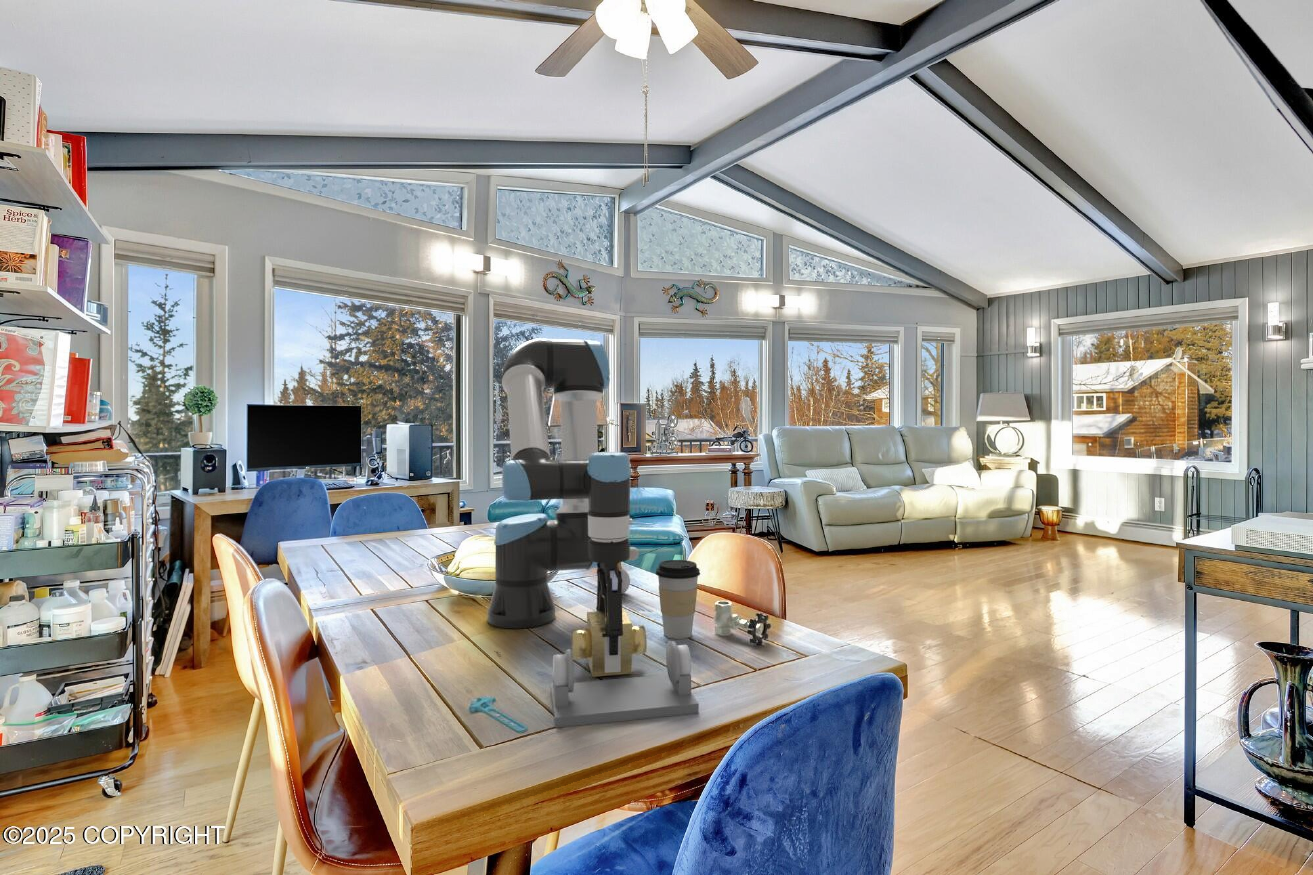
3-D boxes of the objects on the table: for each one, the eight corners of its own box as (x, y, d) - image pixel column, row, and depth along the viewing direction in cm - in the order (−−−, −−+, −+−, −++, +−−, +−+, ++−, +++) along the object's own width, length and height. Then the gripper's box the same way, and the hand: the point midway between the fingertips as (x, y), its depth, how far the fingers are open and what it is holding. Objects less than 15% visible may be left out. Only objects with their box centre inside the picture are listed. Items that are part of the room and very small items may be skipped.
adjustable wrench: (461, 702, 102) (489, 693, 106) (461, 708, 102) (489, 698, 106) (510, 732, 92) (539, 721, 96) (510, 739, 92) (539, 727, 96)
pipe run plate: (550, 693, 107) (550, 638, 107) (679, 682, 112) (679, 629, 112) (555, 727, 95) (555, 666, 95) (698, 712, 100) (698, 654, 100)
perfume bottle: (595, 594, 167) (595, 548, 167) (622, 587, 174) (622, 543, 174) (614, 600, 162) (615, 552, 162) (642, 592, 169) (642, 547, 169)
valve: (705, 634, 137) (750, 649, 128) (706, 603, 136) (751, 616, 128) (726, 627, 141) (770, 641, 132) (726, 597, 141) (771, 609, 132)
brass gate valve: (571, 660, 120) (570, 613, 120) (639, 655, 123) (639, 608, 122) (575, 678, 112) (575, 627, 112) (648, 671, 115) (648, 622, 115)
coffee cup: (686, 645, 130) (686, 571, 130) (646, 636, 135) (646, 565, 135) (707, 631, 138) (708, 562, 138) (669, 624, 143) (670, 557, 143)
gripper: (640, 549, 107) (640, 683, 108) (620, 526, 127) (619, 640, 128) (595, 551, 105) (595, 687, 106) (582, 528, 126) (582, 643, 127)
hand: (608, 661), depth 117 cm, fingers closed on brass gate valve, 8 cm apart
